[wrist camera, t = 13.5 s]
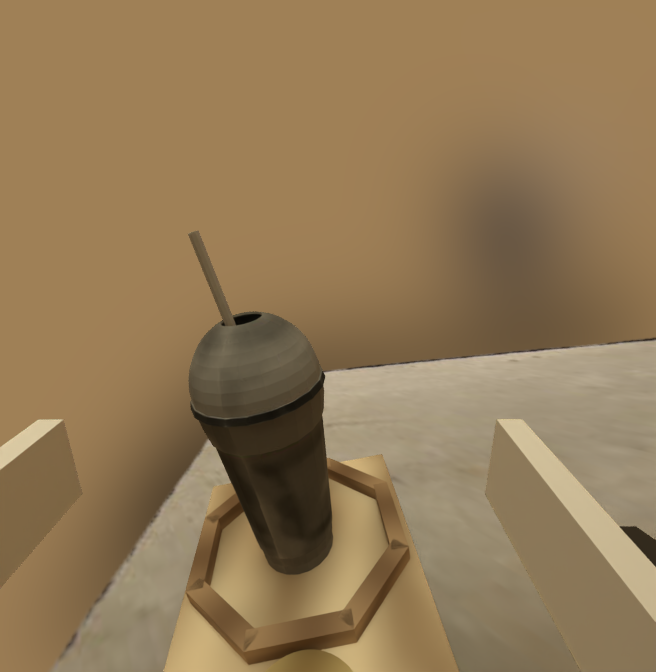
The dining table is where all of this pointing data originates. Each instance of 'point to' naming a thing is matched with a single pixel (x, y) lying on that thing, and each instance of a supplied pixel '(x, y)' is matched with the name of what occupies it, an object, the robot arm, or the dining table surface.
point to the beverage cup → (266, 426)
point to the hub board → (312, 592)
